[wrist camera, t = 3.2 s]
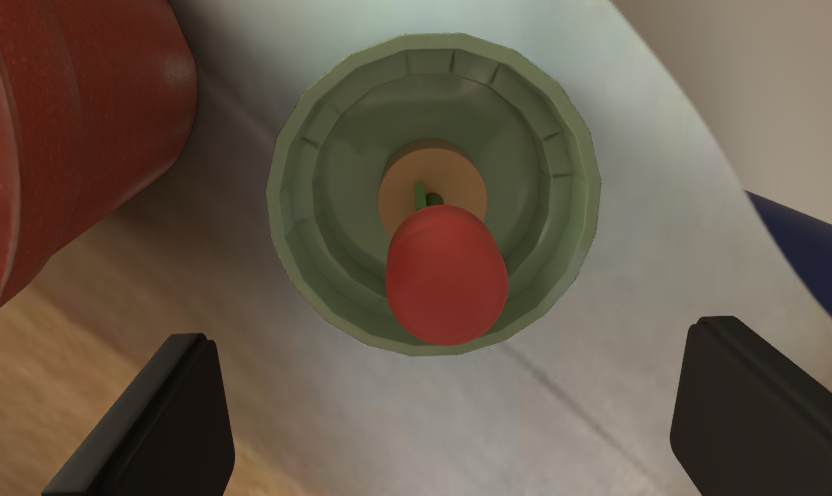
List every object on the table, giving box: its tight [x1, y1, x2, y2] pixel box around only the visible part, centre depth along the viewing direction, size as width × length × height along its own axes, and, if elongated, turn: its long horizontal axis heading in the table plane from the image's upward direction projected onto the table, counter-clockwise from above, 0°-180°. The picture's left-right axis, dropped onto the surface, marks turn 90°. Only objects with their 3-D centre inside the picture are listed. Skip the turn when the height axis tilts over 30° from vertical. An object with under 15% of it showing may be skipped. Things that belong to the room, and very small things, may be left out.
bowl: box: [266, 33, 601, 356], centre depth 25 cm, size 14×14×5 cm
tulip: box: [377, 138, 509, 346], centre depth 20 cm, size 5×5×14 cm
